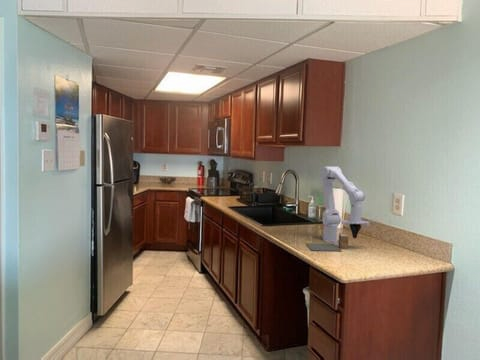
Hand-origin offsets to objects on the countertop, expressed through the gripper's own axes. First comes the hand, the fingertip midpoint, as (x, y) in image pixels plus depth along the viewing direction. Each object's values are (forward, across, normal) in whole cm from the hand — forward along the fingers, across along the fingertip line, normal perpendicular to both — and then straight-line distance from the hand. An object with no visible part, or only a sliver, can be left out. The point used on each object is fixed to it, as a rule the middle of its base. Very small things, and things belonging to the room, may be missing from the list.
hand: (354, 237), depth 205 cm
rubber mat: (+6, -17, 0) cm, 18 cm away
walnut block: (+6, -6, 0) cm, 8 cm away
